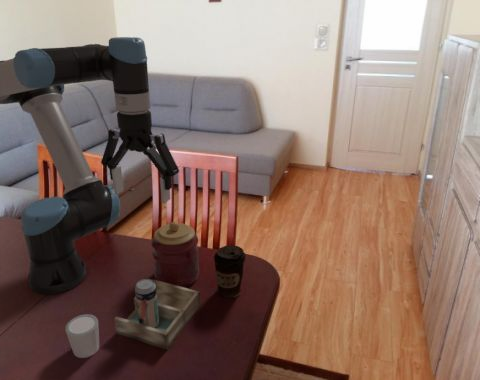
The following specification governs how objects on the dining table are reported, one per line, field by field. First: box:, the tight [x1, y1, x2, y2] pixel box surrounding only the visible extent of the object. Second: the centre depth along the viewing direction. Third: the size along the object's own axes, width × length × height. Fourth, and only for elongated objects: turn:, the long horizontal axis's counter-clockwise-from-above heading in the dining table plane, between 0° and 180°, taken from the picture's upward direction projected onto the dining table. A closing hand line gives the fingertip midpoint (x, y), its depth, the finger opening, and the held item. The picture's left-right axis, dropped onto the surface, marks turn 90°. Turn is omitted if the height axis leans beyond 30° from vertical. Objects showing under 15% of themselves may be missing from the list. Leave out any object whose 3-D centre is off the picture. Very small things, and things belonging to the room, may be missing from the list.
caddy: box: [113, 278, 201, 351], centre depth 99 cm, size 14×16×4 cm
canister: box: [151, 221, 200, 288], centre depth 113 cm, size 13×13×18 cm
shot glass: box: [65, 313, 100, 359], centre depth 90 cm, size 7×7×7 cm
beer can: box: [134, 278, 159, 328], centre depth 94 cm, size 5×5×12 cm
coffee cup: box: [213, 244, 247, 298], centre depth 108 cm, size 9×8×13 cm
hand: (142, 196), depth 99 cm, fingers open, 13 cm apart
